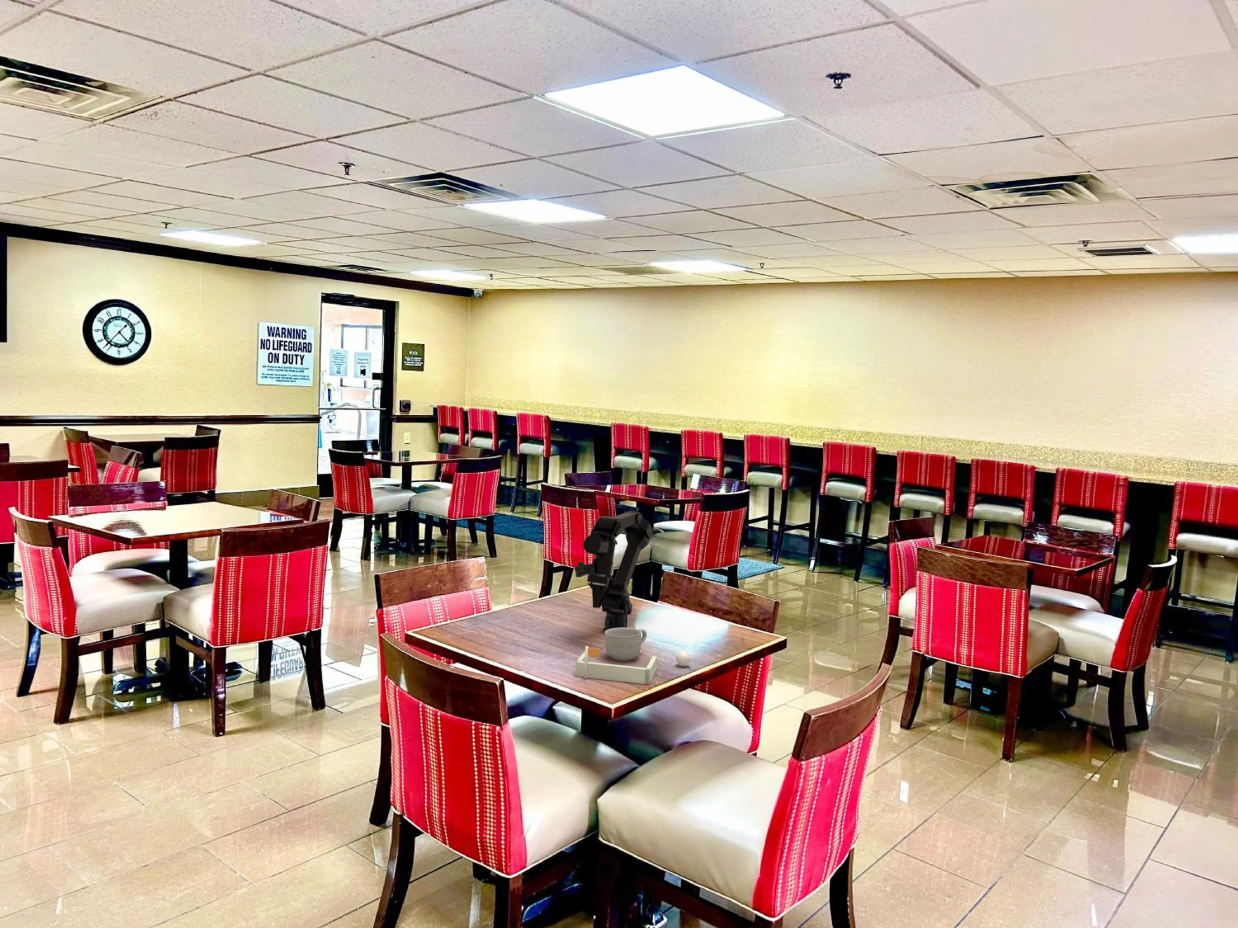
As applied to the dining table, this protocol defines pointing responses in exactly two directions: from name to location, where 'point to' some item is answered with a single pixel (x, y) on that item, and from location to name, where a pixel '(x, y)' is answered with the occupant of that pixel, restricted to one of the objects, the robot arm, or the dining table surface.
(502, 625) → the dining table surface
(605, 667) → the corral
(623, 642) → the teacup
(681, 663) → the golf ball
